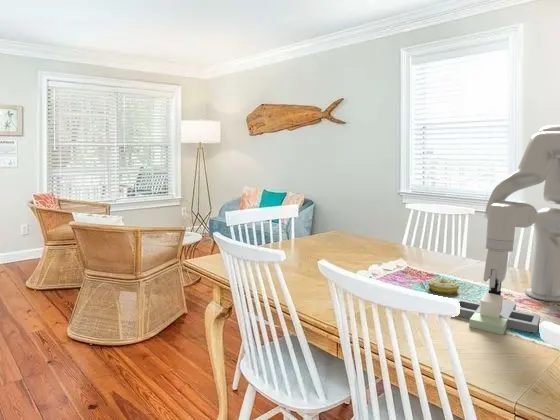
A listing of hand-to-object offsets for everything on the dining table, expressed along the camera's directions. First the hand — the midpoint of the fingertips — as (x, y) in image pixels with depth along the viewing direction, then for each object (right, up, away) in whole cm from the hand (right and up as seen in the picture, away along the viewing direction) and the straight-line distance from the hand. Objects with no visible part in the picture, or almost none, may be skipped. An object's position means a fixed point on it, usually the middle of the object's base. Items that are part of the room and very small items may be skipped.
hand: (493, 302), depth 133 cm
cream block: (-2, -2, -3) cm, 4 cm away
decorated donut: (-6, -2, +27) cm, 27 cm away
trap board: (+1, -5, +1) cm, 5 cm away
